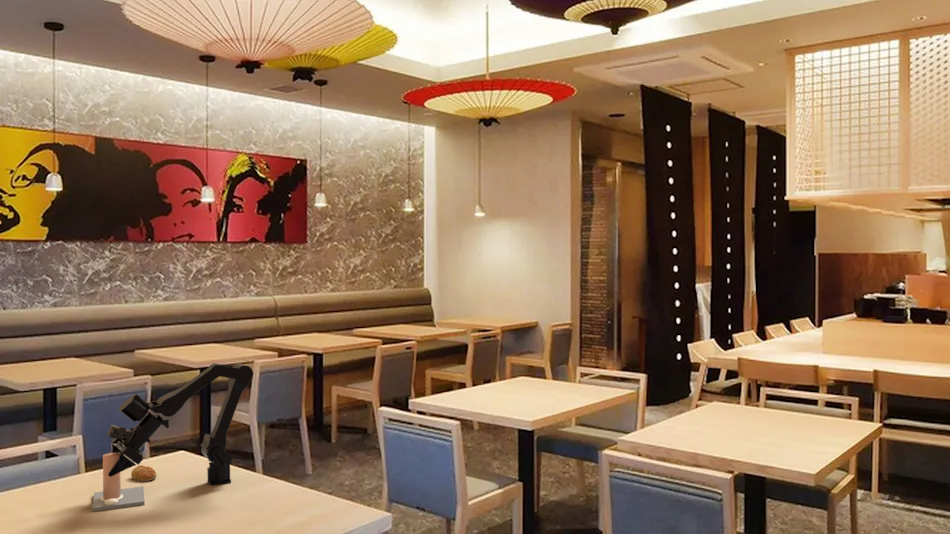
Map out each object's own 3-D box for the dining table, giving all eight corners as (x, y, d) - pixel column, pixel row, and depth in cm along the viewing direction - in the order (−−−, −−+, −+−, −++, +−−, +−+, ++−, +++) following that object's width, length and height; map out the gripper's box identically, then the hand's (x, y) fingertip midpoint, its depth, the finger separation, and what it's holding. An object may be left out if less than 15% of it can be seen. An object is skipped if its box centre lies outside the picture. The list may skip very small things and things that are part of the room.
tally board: (143, 489, 243) (143, 483, 243) (144, 504, 228) (144, 498, 228) (94, 495, 237) (94, 489, 237) (92, 511, 223) (92, 504, 223)
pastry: (162, 479, 255) (161, 467, 254) (142, 484, 249) (142, 472, 249) (148, 474, 260) (147, 463, 260) (128, 478, 255) (128, 467, 255)
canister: (123, 494, 234) (123, 452, 234) (116, 499, 230) (116, 456, 229) (107, 494, 234) (107, 452, 234) (100, 499, 229) (100, 457, 229)
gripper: (118, 409, 241) (80, 450, 235) (130, 420, 226) (89, 463, 220) (145, 431, 246) (108, 470, 240) (159, 442, 231) (120, 485, 225)
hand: (106, 472), depth 231 cm, fingers open, 9 cm apart
